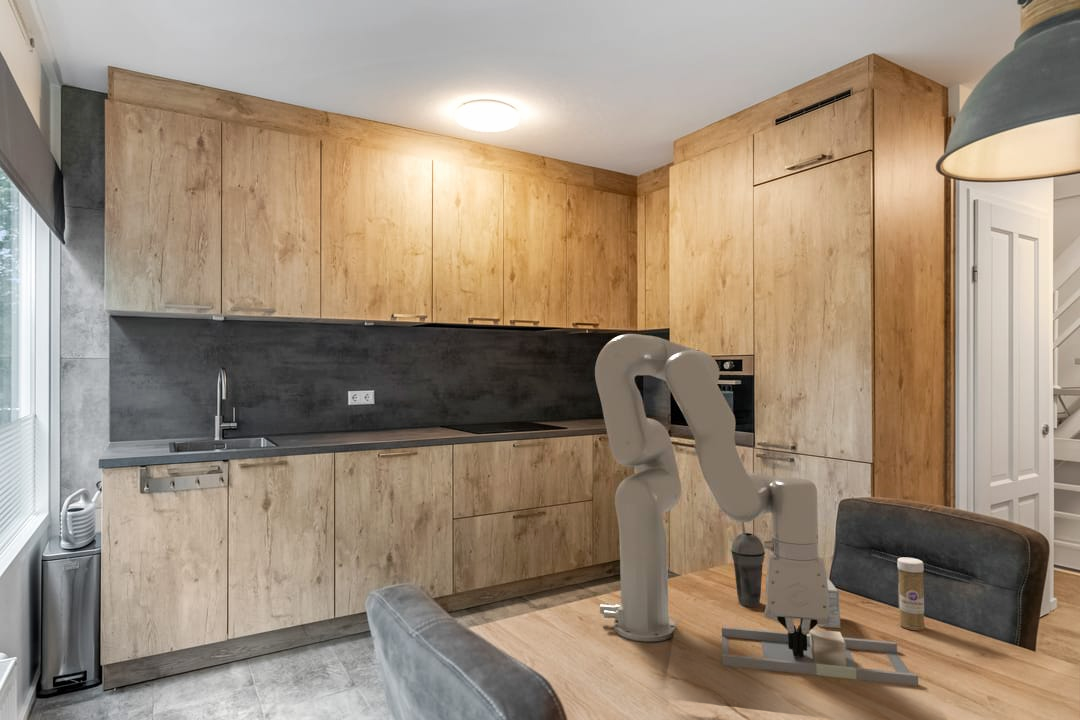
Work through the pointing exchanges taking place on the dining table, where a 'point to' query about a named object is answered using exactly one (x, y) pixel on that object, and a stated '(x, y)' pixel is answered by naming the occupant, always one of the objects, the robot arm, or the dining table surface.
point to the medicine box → (833, 607)
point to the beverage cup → (748, 567)
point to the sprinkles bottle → (911, 593)
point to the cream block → (827, 647)
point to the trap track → (784, 660)
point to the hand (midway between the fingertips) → (797, 653)
